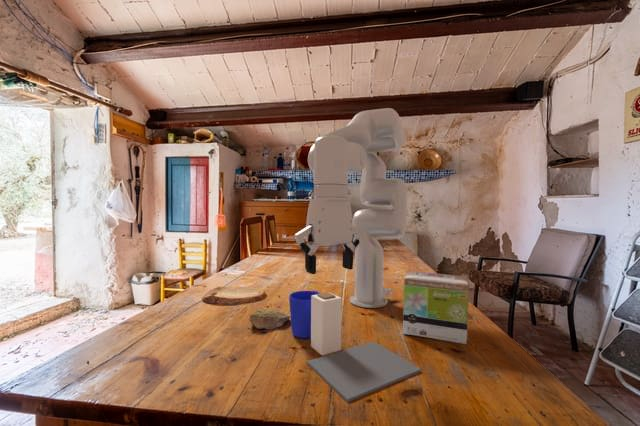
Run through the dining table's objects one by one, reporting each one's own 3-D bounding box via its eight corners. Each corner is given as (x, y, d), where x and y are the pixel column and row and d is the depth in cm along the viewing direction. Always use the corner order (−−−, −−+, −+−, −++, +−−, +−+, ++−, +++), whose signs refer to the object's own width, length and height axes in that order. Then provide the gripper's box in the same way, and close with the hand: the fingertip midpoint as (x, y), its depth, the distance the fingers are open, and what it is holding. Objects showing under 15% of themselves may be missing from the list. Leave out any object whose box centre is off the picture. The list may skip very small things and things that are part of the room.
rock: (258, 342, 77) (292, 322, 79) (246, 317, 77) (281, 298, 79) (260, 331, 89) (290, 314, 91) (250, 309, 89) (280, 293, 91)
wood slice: (271, 296, 107) (271, 286, 107) (231, 311, 92) (231, 299, 92) (237, 288, 117) (237, 279, 117) (196, 301, 102) (196, 290, 102)
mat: (373, 343, 71) (373, 341, 71) (420, 372, 59) (420, 369, 59) (306, 364, 61) (306, 361, 61) (347, 402, 49) (347, 399, 49)
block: (328, 341, 72) (329, 290, 71) (341, 350, 67) (341, 296, 67) (310, 346, 69) (311, 293, 69) (322, 356, 65) (322, 299, 64)
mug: (329, 324, 82) (330, 288, 82) (314, 343, 71) (315, 302, 70) (302, 320, 85) (302, 285, 84) (283, 338, 73) (283, 298, 73)
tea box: (402, 335, 75) (403, 277, 75) (405, 321, 85) (406, 269, 84) (468, 345, 70) (469, 283, 70) (463, 329, 80) (464, 274, 79)
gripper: (351, 195, 74) (350, 264, 74) (287, 193, 65) (287, 271, 65) (371, 194, 67) (370, 269, 68) (304, 191, 58) (303, 278, 59)
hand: (329, 270), depth 66 cm, fingers open, 9 cm apart
